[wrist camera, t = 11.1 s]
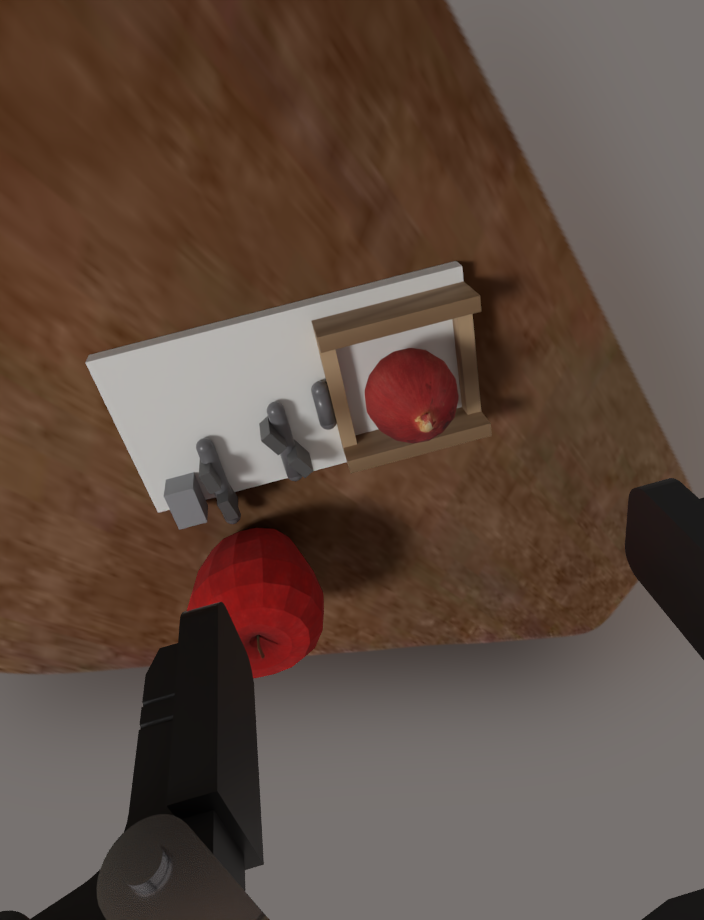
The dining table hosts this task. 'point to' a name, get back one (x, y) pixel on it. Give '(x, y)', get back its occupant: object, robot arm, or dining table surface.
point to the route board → (251, 395)
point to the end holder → (392, 320)
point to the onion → (411, 395)
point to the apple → (264, 597)
